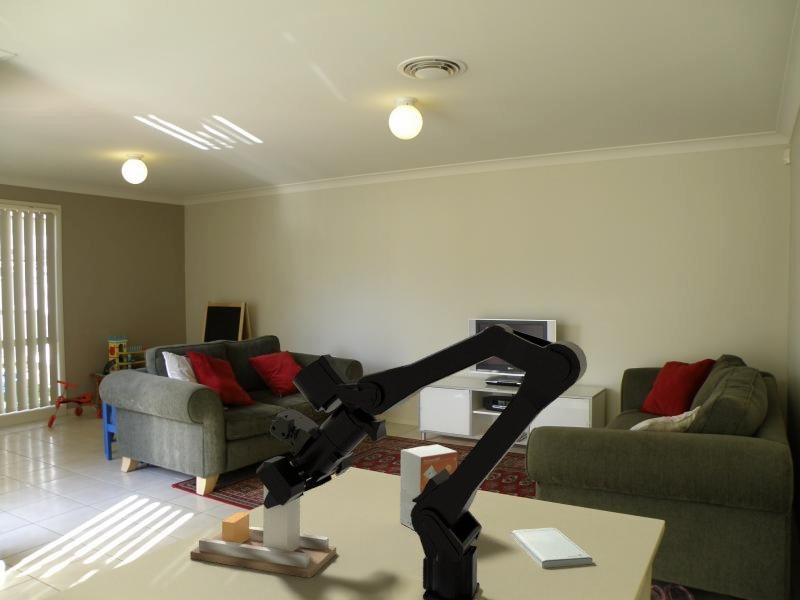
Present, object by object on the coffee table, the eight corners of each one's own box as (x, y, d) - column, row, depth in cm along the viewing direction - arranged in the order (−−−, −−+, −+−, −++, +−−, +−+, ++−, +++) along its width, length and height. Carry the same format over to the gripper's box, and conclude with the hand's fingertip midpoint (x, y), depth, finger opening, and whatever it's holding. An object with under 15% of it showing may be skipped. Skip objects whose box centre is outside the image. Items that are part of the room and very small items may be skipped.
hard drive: (593, 556, 95) (556, 526, 107) (542, 560, 93) (510, 529, 105) (592, 567, 95) (555, 536, 107) (541, 571, 93) (510, 539, 105)
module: (299, 546, 97) (300, 481, 97) (287, 556, 93) (287, 488, 93) (276, 542, 98) (276, 478, 98) (263, 552, 94) (263, 485, 94)
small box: (419, 534, 106) (420, 456, 105) (398, 522, 111) (399, 448, 111) (457, 525, 110) (458, 450, 110) (435, 514, 115) (436, 443, 115)
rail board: (336, 553, 97) (336, 536, 97) (310, 578, 89) (310, 559, 89) (224, 536, 104) (224, 520, 104) (190, 558, 95) (190, 541, 95)
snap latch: (249, 538, 100) (249, 513, 99) (233, 549, 95) (233, 522, 95) (238, 537, 100) (238, 511, 100) (222, 547, 96) (222, 521, 96)
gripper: (335, 385, 102) (277, 447, 107) (268, 403, 85) (202, 475, 89) (379, 438, 99) (317, 499, 103) (318, 468, 82) (248, 539, 86)
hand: (274, 501), depth 96 cm, fingers closed on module, 4 cm apart
